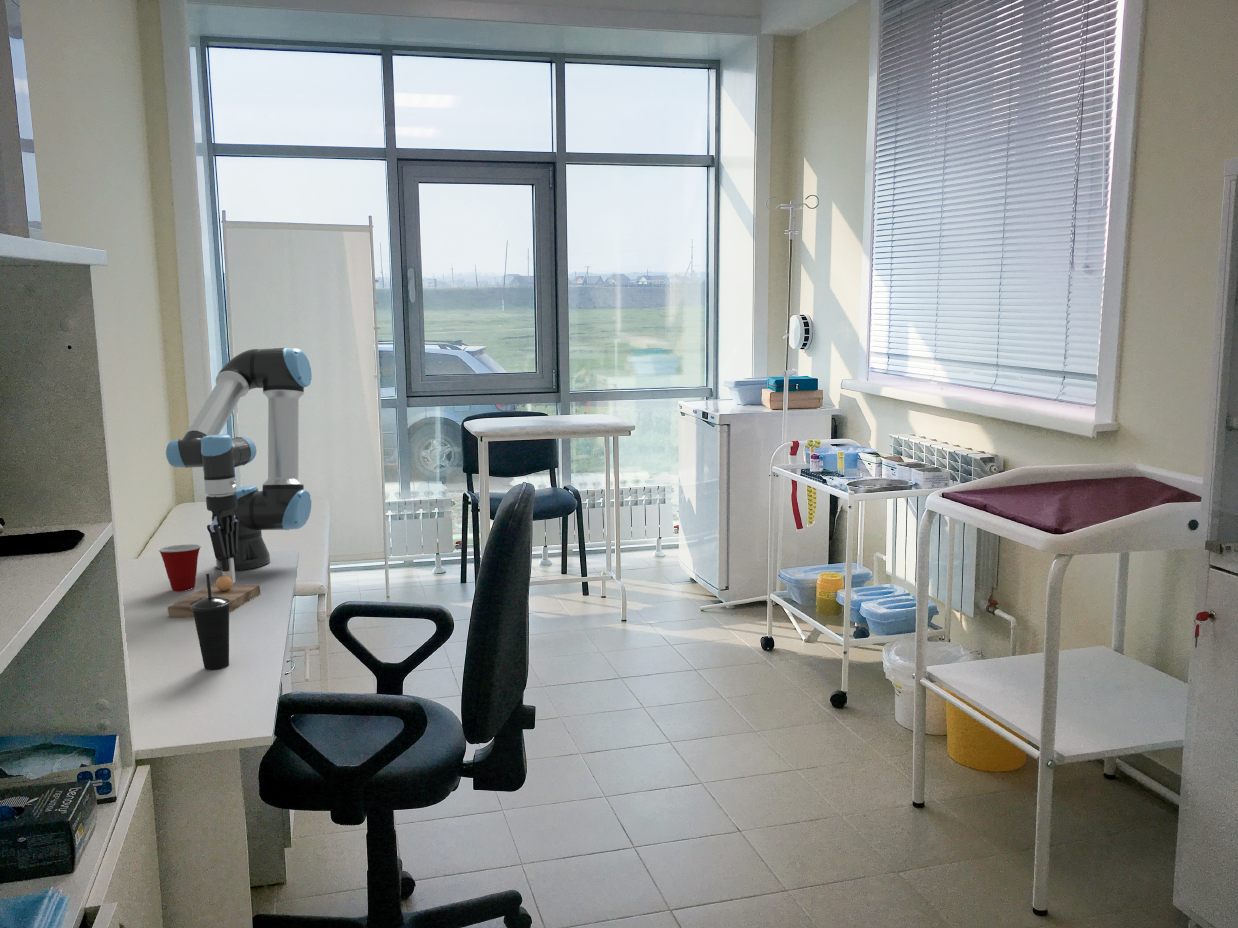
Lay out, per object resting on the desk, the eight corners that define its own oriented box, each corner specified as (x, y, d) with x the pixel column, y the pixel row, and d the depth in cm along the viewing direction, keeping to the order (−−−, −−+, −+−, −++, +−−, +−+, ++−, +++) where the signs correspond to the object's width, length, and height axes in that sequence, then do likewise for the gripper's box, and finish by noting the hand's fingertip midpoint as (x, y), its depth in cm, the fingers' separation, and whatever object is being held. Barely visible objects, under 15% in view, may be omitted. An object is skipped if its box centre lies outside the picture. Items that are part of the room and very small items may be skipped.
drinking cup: (212, 675, 201) (202, 580, 198) (189, 669, 205) (179, 576, 202) (244, 663, 208) (235, 571, 205) (221, 657, 212) (212, 567, 209)
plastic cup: (212, 582, 275) (208, 541, 273) (192, 593, 264) (187, 550, 262) (175, 583, 276) (171, 541, 274) (154, 594, 265) (149, 550, 264)
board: (210, 594, 263) (209, 585, 263) (260, 594, 261) (259, 585, 261) (168, 617, 243) (167, 607, 243) (222, 617, 242) (221, 607, 241)
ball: (221, 588, 259) (219, 573, 258) (235, 588, 259) (234, 573, 258) (213, 592, 255) (211, 578, 254) (228, 592, 255) (226, 578, 254)
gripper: (222, 498, 249) (230, 588, 252) (246, 489, 262) (254, 575, 265) (194, 498, 250) (202, 589, 253) (220, 490, 263) (228, 576, 266)
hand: (229, 582), depth 259 cm, fingers closed
